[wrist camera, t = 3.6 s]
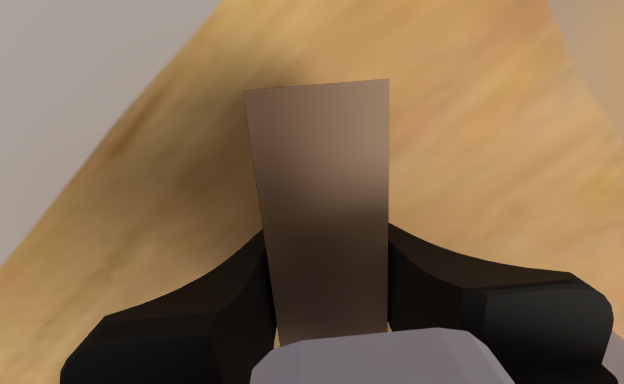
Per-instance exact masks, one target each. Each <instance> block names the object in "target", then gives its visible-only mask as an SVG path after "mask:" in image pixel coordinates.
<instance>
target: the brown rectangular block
mask: <svg viewBox="0 0 624 384" xmlns="http://www.w3.org/2000/svg"><path fill="white" fill-rule="evenodd" d="M243 94H244V101H245V108H246V115H247V122H248V128H249V135H250V142H251V149H252V156H253V163H254V170H255V177H256V183H257V190H258V197H259V204H260V211H261V218H262V225H263V231H264V238H265V245H266V252H267V259H268V266H269V273H270V279H271V286H272V293H273V300H274V307H275V314H276V321H277V327H278V334H279V341H280V347H283V346H286V345H289V344H292V343H296V342H299V341H302V340H312V339H323V338H333V337H343V336H354V335H364V334H375V333H385V332H387V311H388V190H389V79H378V80H366V81H353V82H341V83H329V84H317V85H304V86H292V87H280V88H267V89H255V90H243Z"/></svg>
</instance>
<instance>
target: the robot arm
mask: <svg viewBox="0 0 624 384" xmlns="http://www.w3.org/2000/svg"><path fill="white" fill-rule="evenodd" d="M387 321H388V323H389V325H390V327H391V330H392V332H385V333H375V334H364V335H354V336H343V337H333V338H323V339H312V340H302V341H299V342H296V343H292V344H289V345H286V346H283V347H280V348H277V349H273V347H274V340H275V334H276V328H277V321H276V314H275V307H274V300H273V293H272V286H271V279H270V273H269V266H268V259H267V252H266V245H265V238H264V231H263V229H262V230H261V231H259V232H258V233H257V234H256V235H255V236H254V237H253V238H252V239H251V240H250V241H249V242H248V243H246V244H245V245H244V246H243V247H242V248H241V249H240V250H239V251H237V252H236V253H235V254H234V255H232V256H231V257H230V258H229V259H227V260H226V261H225V262H223V263H222V264H221V265H219V266H218V267H216V268H215V269H213V270H212V271H210V272H209V273H207V274H205V275H204V276H202V277H200V278H198V279H197V280H195V281H193V282H191V283H189V284H187V285H185V286H183V287H181V288H179V289H177V290H175V291H173V292H171V293H168V294H166V295H164V296H161V297H159V298H156V299H154V300H151V301H149V302H146V303H143V304H141V305H138V306H135V307H132V308H129V309H126V310H123V311H120V312H117V313H113V314H110V315H107V316H105V317H104V318H103V319H102V320H101V321H100V322H99V323H98V325H97V326H96V327H95V328H94V329H93V330H92V331H91V332H90V334H89V335H88V336H87V337H86V338H85V339H84V340H83V342H82V343H81V344H80V345H79V346H78V347H77V348H76V349H75V351H74V352H73V353H72V354H71V355H70V356H69V357H68V359H67V360H66V362H65V364H64V366H63V368H62V370H61V373H60V384H624V339H622V338H621V337H620V336H618V335H617V334H616V333H614V332H613V331H612V327H613V321H614V317H613V312H612V307H611V305H610V303H609V302H608V300H607V299H606V297H605V296H604V295H603V294H601V293H600V292H598V291H597V290H595V289H594V288H593V287H591V286H590V285H588V284H587V283H585V282H584V281H582V280H581V279H579V278H578V277H576V276H575V275H573V274H572V273H570V272H561V271H552V270H543V269H533V268H525V267H518V266H512V265H507V264H501V263H496V262H491V261H486V260H482V259H478V258H474V257H470V256H466V255H463V254H459V253H456V252H453V251H450V250H447V249H444V248H441V247H439V246H436V245H434V244H431V243H429V242H427V241H424V240H422V239H420V238H418V237H416V236H413V235H411V234H409V233H407V232H405V231H404V230H402V229H400V228H398V227H396V226H394V225H392V224H390V223H388V311H387Z"/></svg>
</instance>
